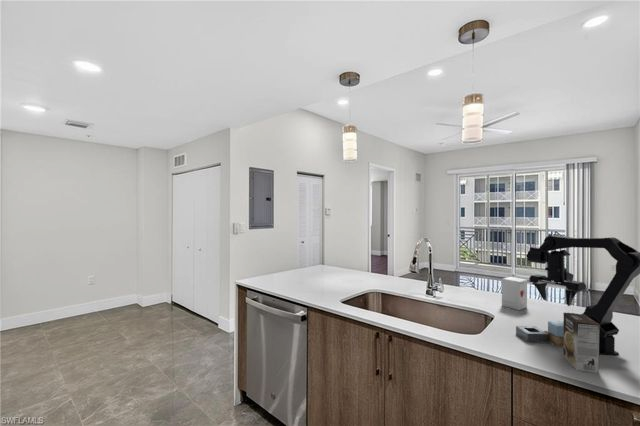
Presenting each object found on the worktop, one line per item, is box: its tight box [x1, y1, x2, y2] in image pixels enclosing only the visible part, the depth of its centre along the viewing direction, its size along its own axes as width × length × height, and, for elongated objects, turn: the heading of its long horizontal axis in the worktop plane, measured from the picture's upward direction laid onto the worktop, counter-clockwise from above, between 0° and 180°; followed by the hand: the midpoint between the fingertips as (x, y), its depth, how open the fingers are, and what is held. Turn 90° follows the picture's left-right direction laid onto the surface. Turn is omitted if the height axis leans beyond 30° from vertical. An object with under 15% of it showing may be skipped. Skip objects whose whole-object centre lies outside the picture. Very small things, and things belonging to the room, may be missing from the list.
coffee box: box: [562, 312, 600, 374], centre depth 102 cm, size 9×6×16 cm
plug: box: [547, 320, 564, 337], centre depth 119 cm, size 5×6×8 cm
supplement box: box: [501, 276, 528, 311], centre depth 162 cm, size 9×9×15 cm
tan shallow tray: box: [543, 330, 564, 348], centre depth 119 cm, size 7×7×3 cm
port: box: [515, 325, 550, 343], centre depth 123 cm, size 8×8×3 cm
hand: (556, 302), depth 127 cm, fingers open, 9 cm apart
